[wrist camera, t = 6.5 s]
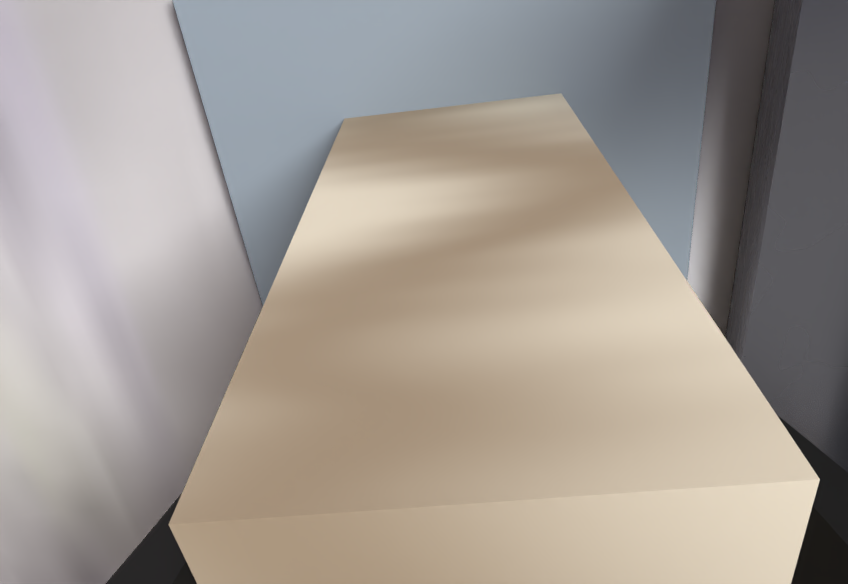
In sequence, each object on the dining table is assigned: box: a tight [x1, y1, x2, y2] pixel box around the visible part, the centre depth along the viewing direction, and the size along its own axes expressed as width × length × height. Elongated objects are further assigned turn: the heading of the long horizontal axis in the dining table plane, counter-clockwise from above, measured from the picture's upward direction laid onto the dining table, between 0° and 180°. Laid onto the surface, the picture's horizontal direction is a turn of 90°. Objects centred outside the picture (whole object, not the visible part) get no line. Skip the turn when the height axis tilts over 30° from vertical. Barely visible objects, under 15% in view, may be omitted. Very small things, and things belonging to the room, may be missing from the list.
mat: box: [172, 0, 716, 305], centre depth 13 cm, size 8×14×1 cm, turn 7°
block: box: [168, 93, 820, 584], centre depth 9 cm, size 4×10×8 cm, turn 7°
